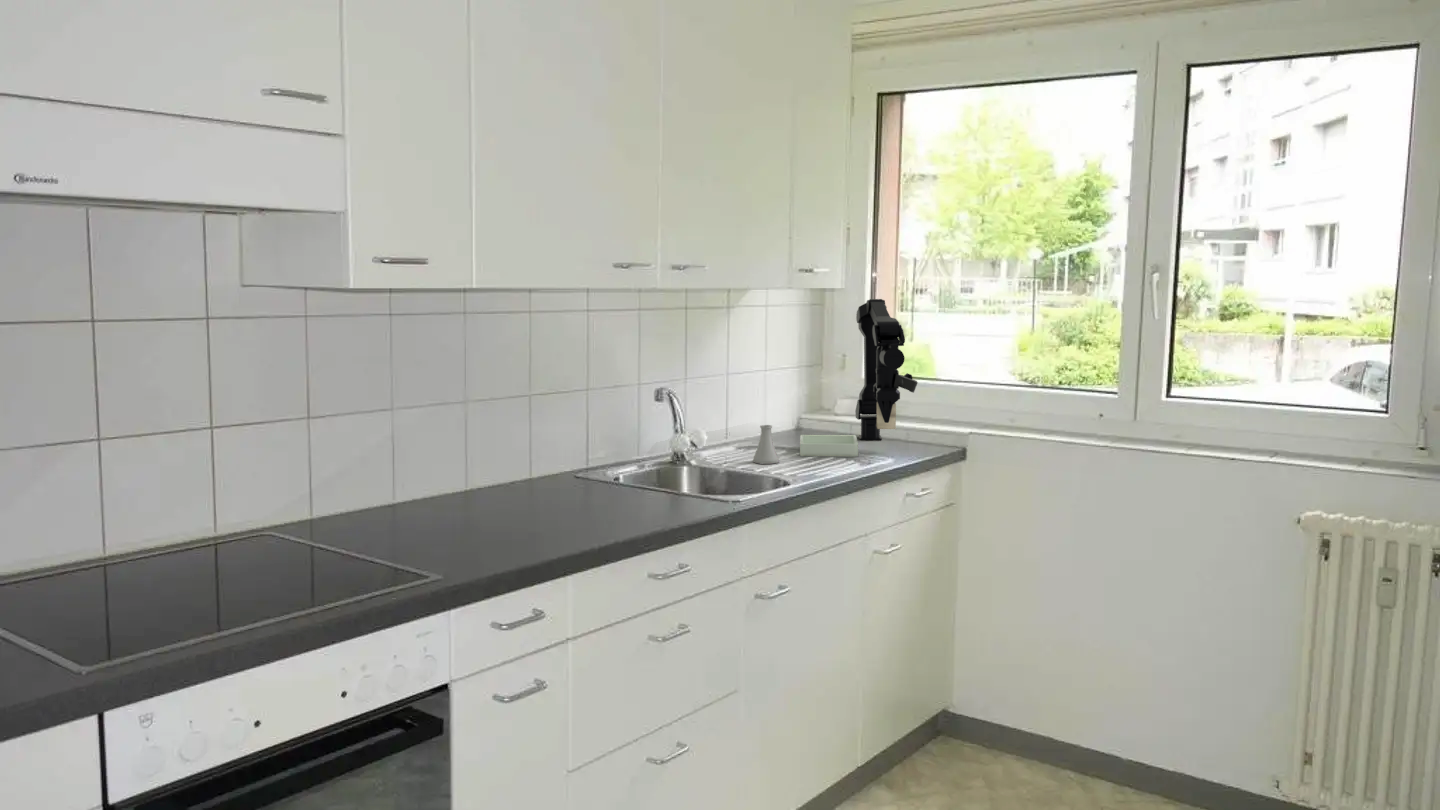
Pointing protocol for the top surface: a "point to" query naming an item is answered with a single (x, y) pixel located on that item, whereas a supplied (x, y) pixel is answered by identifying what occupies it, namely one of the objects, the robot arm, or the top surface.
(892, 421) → the birch block
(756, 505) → the top surface
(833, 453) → the sage bin
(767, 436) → the flask
